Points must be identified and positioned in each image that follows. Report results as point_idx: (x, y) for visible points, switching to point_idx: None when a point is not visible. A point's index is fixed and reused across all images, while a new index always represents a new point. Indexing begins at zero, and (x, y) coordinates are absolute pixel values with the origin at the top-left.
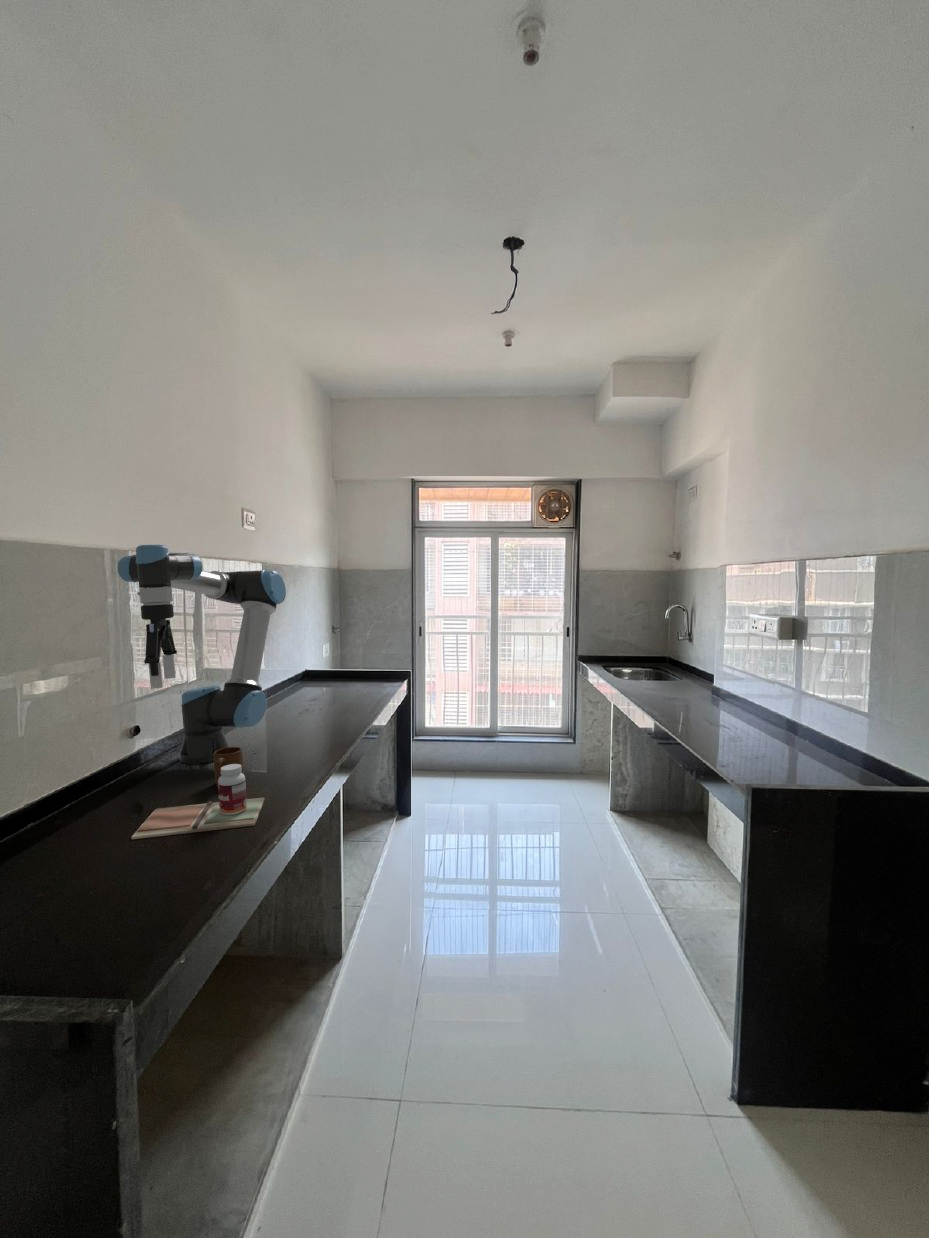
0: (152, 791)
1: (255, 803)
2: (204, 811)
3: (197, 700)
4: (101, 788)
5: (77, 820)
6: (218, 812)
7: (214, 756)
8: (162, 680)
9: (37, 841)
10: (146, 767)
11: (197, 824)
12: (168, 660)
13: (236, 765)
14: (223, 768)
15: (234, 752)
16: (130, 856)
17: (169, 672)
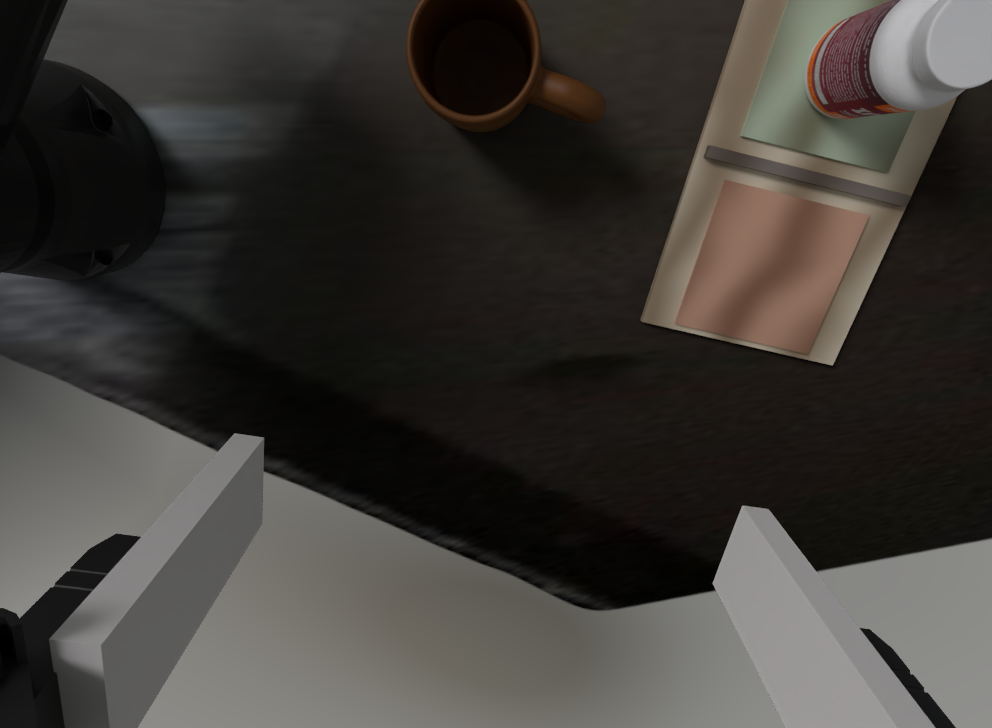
0: (437, 343)
1: None
2: (800, 171)
3: None
4: (329, 485)
5: (588, 502)
6: (824, 124)
7: (493, 122)
8: (777, 549)
9: (685, 556)
10: (141, 383)
11: (897, 192)
12: (160, 633)
13: (972, 6)
14: (972, 74)
15: (423, 19)
16: (944, 354)
17: (234, 519)
